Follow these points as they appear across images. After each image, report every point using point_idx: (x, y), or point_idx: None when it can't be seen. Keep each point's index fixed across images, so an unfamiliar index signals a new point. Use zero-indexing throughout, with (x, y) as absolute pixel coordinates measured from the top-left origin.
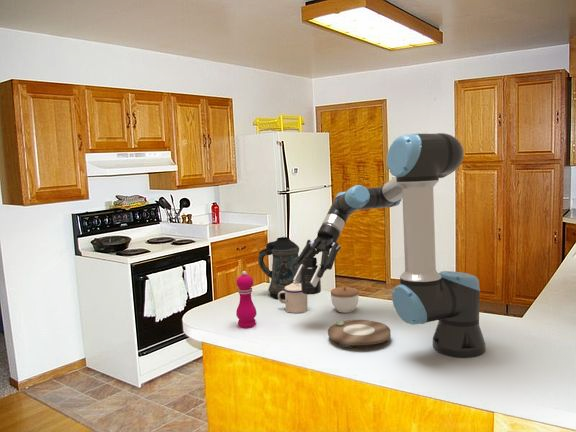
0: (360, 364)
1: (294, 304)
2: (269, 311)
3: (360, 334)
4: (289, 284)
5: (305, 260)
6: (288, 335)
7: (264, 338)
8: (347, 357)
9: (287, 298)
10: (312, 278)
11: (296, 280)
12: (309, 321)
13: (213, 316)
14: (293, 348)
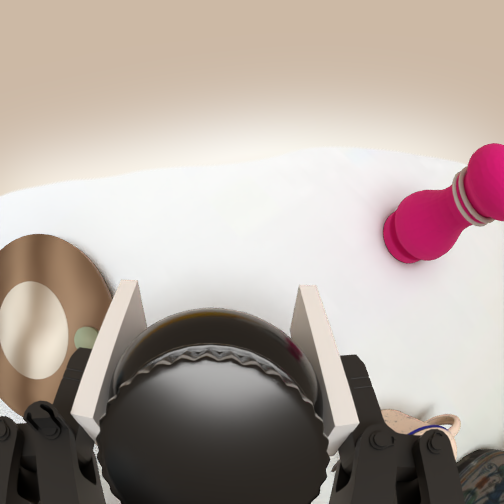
0: (2, 198)
1: None
2: (436, 372)
3: (13, 295)
4: (469, 496)
5: (209, 354)
6: (240, 240)
7: (285, 182)
8: (29, 210)
9: (413, 420)
10: (124, 306)
11: (297, 306)
12: None
13: (496, 239)
14: (162, 172)
